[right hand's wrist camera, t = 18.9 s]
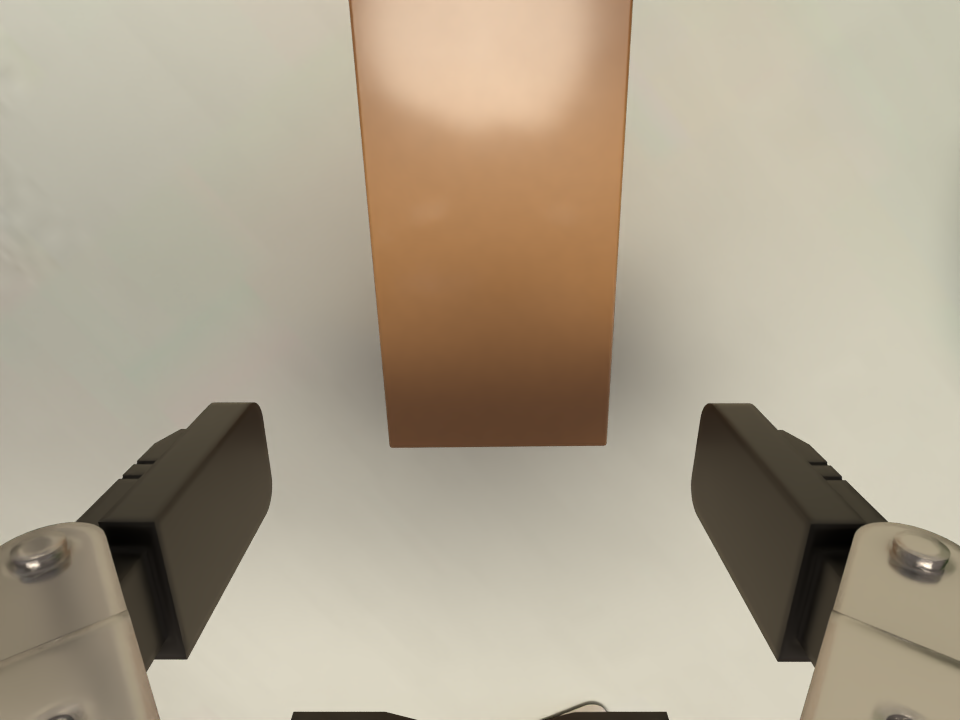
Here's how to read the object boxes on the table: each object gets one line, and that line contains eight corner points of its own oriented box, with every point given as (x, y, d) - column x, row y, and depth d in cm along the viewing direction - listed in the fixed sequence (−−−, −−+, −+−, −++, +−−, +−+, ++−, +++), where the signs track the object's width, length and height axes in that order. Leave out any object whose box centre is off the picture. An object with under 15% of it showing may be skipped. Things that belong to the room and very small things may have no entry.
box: (570, 339, 25) (606, 446, 17) (423, 342, 25) (389, 448, 17) (596, -448, 17) (692, -993, 8) (374, -435, 17) (259, -959, 9)
